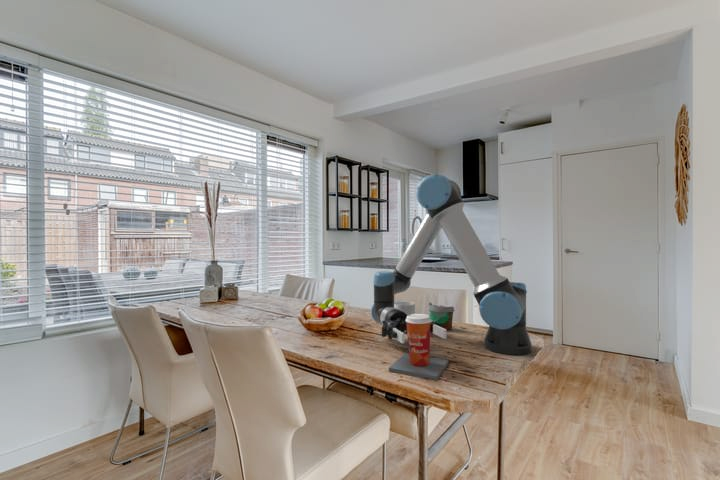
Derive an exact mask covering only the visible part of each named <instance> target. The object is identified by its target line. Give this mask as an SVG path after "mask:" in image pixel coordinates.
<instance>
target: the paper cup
mask: <svg viewBox="0 0 720 480" xmlns="http://www.w3.org/2000/svg"><path fill="white" fill-rule="evenodd" d="M405 321H406V322H407V332H406V333H407V344H408V354H409V357H410V364H411V365H414V366H427V365H428V364H429V357H430V352H431V351H430V349H431V348H430V346H431V332H430V322H432V320H431V318H430V316H429V315H428V314H424V313H415V314H410V315H408V316H407V318H406V320H405Z"/></svg>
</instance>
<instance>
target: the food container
mask: <svg viewBox="0 0 720 480" xmlns="http://www.w3.org/2000/svg"><path fill="white" fill-rule="evenodd" d="M426 308H427V310H428V314H429V317H430V318H431V320H432V321H433V322H438V323H441V327H442V328H444V329H446V330H447V332H449V330H450V331H452V328H453V317H454V312H455V307H454V306H445V305H435V304H432V302H428V305H427V307H426Z"/></svg>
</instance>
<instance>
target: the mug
mask: <svg viewBox="0 0 720 480" xmlns="http://www.w3.org/2000/svg"><path fill="white" fill-rule="evenodd" d="M394 308H396V309H399V310H400V311H403V312H404V313H406V314H407V316H408V315H410V314H416V303H415V302H413V301H404V300H403V301H401V300H400V301H394ZM403 333H407V331H406V330H405V331H404V332H403Z"/></svg>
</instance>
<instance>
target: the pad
mask: <svg viewBox="0 0 720 480" xmlns="http://www.w3.org/2000/svg"><path fill="white" fill-rule="evenodd" d="M448 364H449V359H445V358H444V359H443V358H439V357H438V358H437V357H431V356H429V364H428V365H427V366H414V365H411V364H410V357H409V353H403V355H401V356H400V357H399V358H398V359H397V360H396V361H394V362H393V363H392V364H391V365H390V366H389V367H388V372H392V373H397V374H402V375H406V376H407V375H409V376H413V377H419V378H423V379H429V380H435V381H438V379H439V377H440V376H441V374H442V373H443V372H444V370H445V369H446V367H447V366H448Z"/></svg>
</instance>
